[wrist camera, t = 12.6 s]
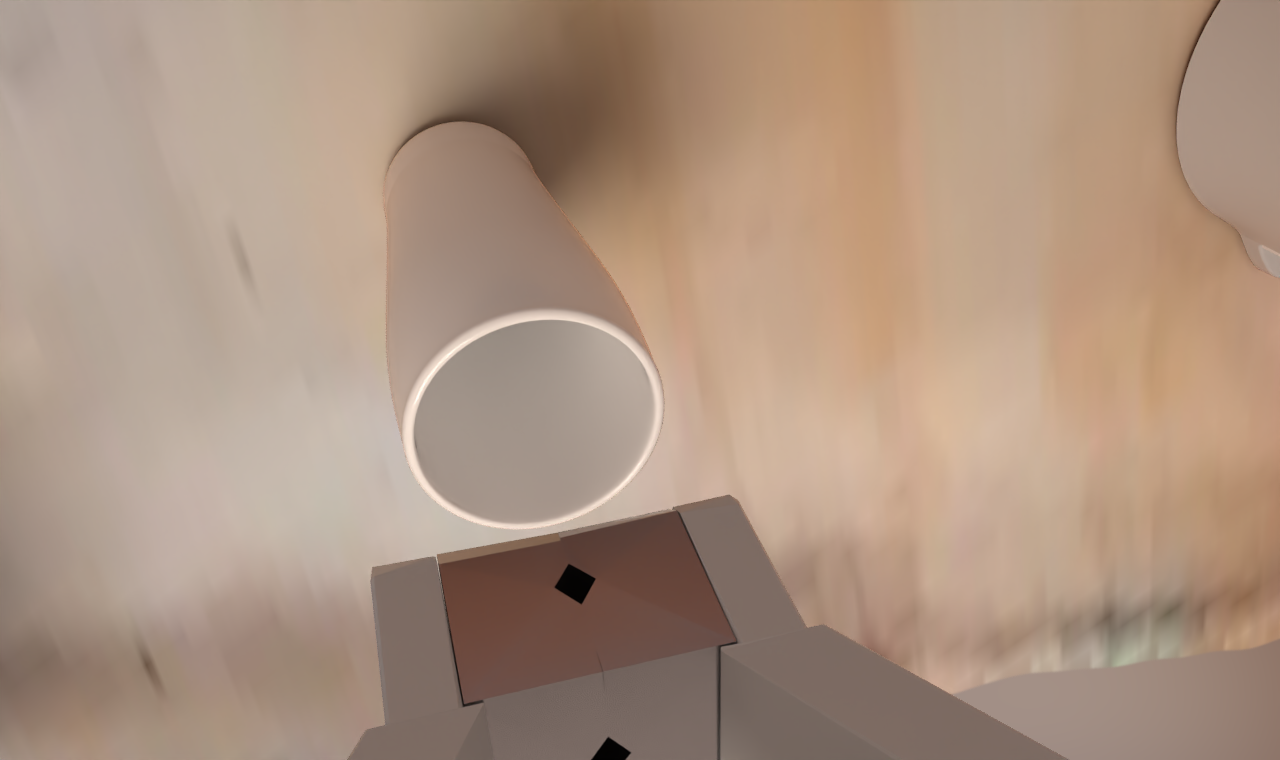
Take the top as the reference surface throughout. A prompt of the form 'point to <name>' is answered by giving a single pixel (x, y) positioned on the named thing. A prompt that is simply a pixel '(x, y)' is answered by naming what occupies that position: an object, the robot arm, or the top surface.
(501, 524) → the white tumbler
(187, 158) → the top surface
